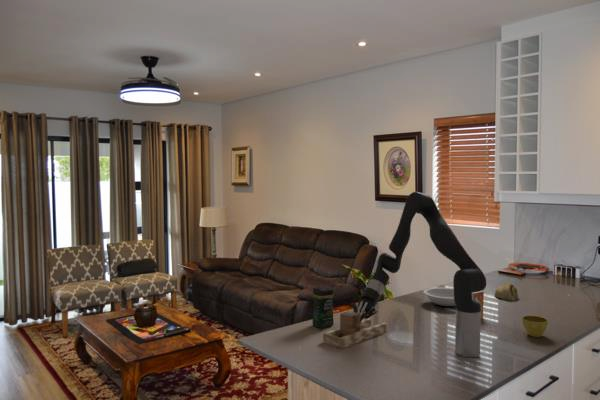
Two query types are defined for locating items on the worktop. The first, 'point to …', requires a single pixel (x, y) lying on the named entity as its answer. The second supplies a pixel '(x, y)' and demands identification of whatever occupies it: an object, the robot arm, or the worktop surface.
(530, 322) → the flower pot
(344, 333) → the walnut block
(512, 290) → the pastry
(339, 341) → the birch chute
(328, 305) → the coffee jar
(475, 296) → the small box
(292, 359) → the worktop surface
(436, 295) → the soup bowl
